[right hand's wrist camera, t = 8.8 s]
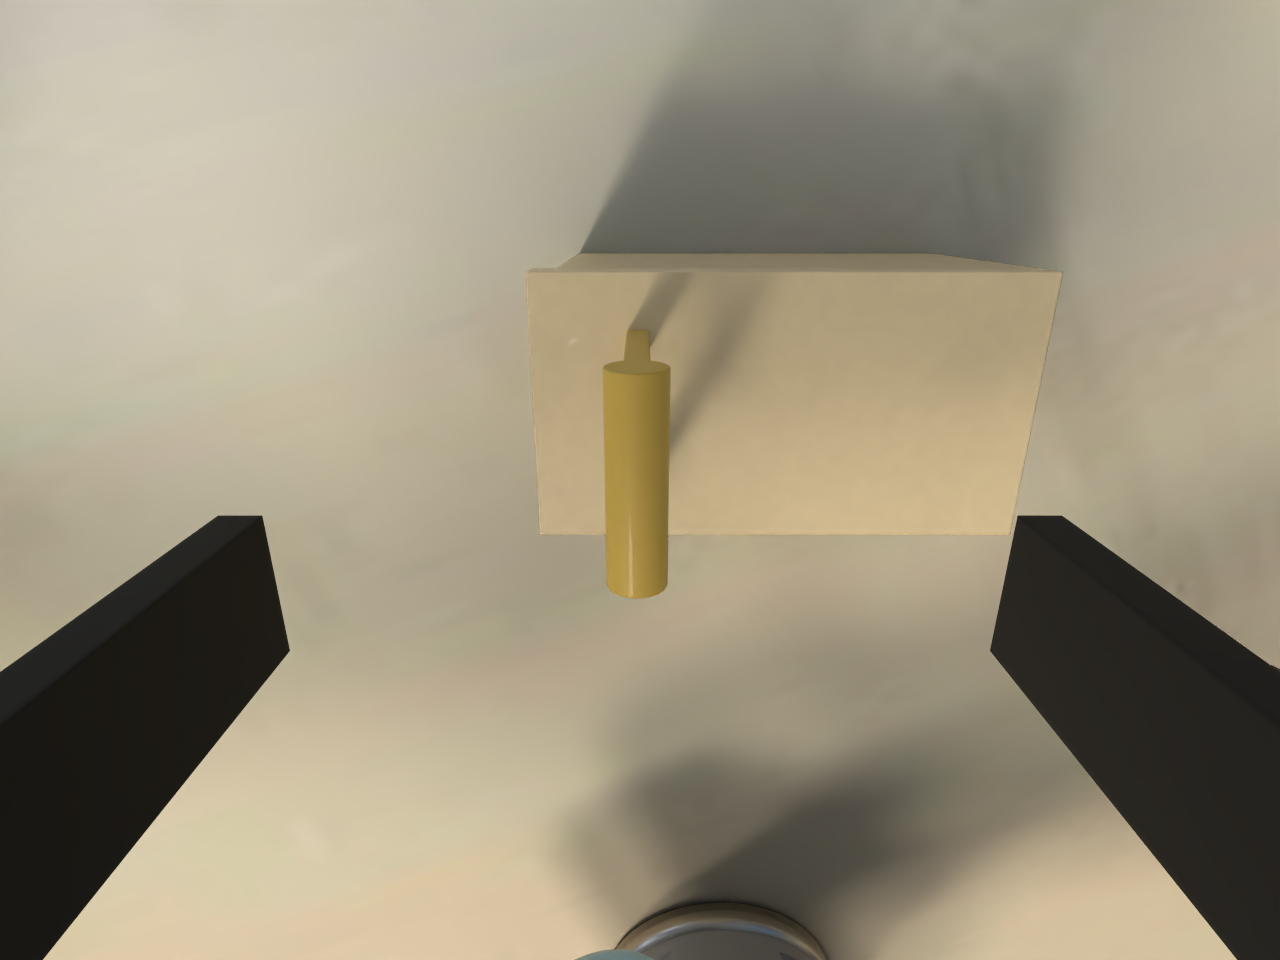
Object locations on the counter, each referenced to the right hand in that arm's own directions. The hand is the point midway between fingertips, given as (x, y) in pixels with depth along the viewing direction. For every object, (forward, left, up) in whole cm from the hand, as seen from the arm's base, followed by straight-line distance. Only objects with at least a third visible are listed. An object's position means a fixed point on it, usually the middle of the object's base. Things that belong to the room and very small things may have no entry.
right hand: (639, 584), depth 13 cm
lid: (+2, -4, -13) cm, 14 cm away
